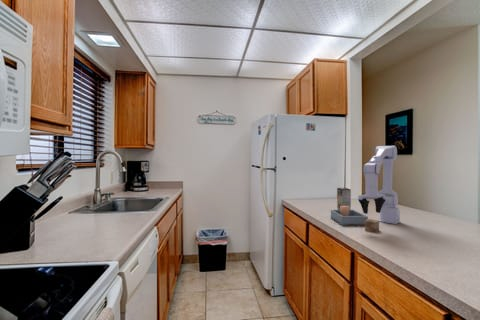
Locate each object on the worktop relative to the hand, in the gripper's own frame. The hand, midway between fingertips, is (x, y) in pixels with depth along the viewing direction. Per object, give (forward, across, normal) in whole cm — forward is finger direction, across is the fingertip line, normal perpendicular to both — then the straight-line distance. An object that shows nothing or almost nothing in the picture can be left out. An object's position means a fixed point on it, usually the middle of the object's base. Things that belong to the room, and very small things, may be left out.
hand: (371, 212), depth 126 cm
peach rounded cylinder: (+8, 0, -22) cm, 24 cm away
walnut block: (+9, 0, 0) cm, 9 cm away
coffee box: (+9, -15, -44) cm, 47 cm away
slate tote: (+9, 0, -18) cm, 20 cm away
